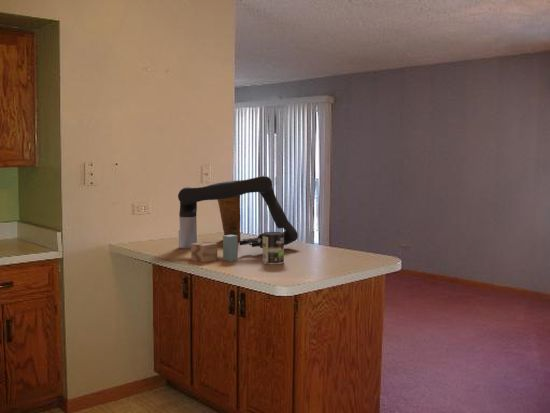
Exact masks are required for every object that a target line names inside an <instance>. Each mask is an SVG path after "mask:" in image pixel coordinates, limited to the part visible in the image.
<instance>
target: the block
mask: <svg viewBox="0 0 550 413" xmlns="http://www.w3.org/2000/svg"><path fill="white" fill-rule="evenodd" d="M190 257H191V258H190V260H191V261H195V262H200V263H207V262H212V261H217V260H218V242H211V241H199V242H197V243H192V244H191V248H190Z"/></svg>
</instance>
